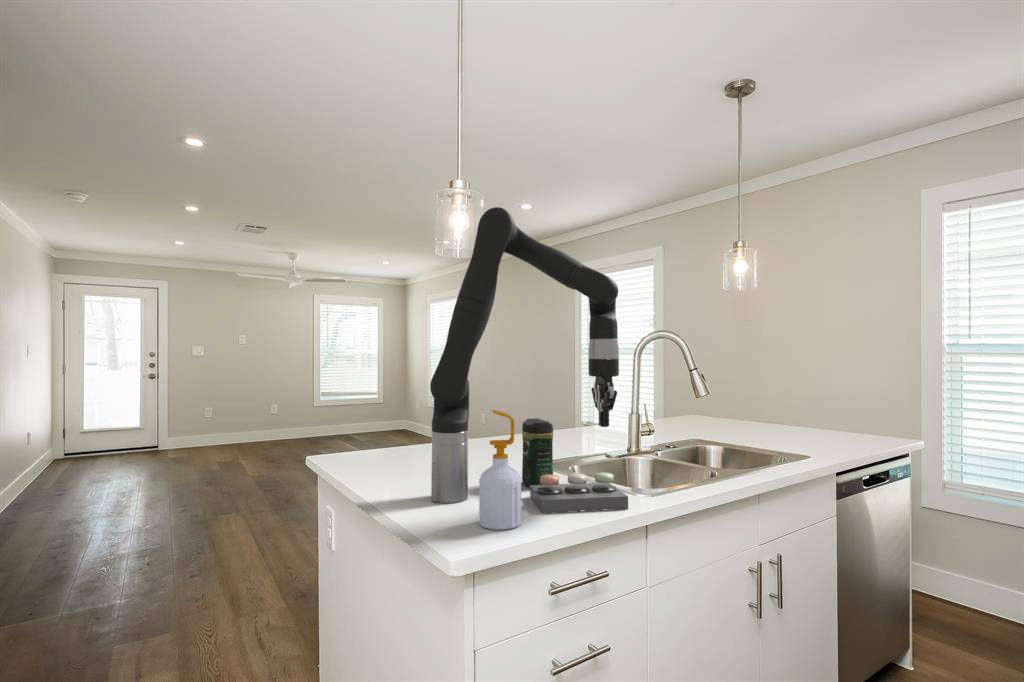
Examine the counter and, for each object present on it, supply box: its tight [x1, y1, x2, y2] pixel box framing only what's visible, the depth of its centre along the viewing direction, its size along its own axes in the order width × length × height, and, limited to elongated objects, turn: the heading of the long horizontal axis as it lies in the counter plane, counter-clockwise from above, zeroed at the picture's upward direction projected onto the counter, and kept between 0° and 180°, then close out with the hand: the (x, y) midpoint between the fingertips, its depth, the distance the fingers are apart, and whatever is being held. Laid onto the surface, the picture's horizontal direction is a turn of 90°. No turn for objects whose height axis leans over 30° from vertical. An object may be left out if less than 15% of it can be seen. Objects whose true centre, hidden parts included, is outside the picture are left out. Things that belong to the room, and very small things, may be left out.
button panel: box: [529, 482, 629, 514], centre depth 130 cm, size 21×14×4 cm, turn 99°
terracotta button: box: [540, 474, 560, 486], centre depth 129 cm, size 5×5×2 cm
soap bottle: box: [478, 409, 522, 531], centre depth 114 cm, size 9×9×25 cm
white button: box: [567, 473, 588, 484], centre depth 130 cm, size 5×5×2 cm
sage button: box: [594, 472, 615, 484], centre depth 131 cm, size 5×5×2 cm
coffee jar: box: [521, 417, 554, 488], centre depth 148 cm, size 10×8×19 cm
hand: (603, 426), depth 132 cm, fingers closed
